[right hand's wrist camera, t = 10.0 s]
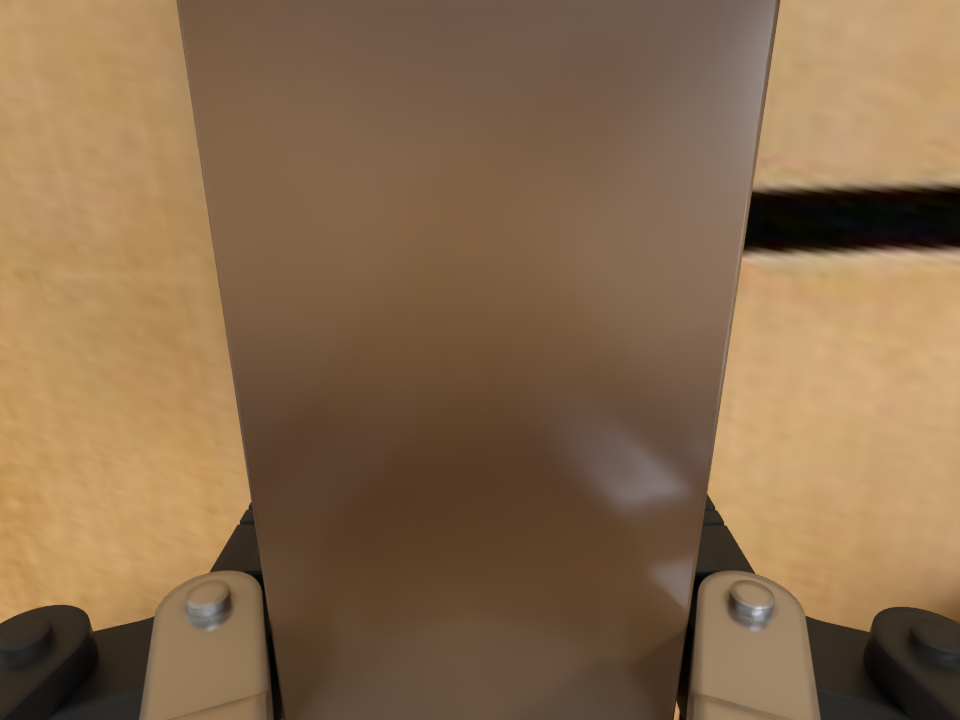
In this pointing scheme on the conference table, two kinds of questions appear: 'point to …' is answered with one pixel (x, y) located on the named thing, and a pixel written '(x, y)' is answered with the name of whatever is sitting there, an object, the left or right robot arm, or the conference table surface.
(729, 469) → the conference table surface
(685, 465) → the post
